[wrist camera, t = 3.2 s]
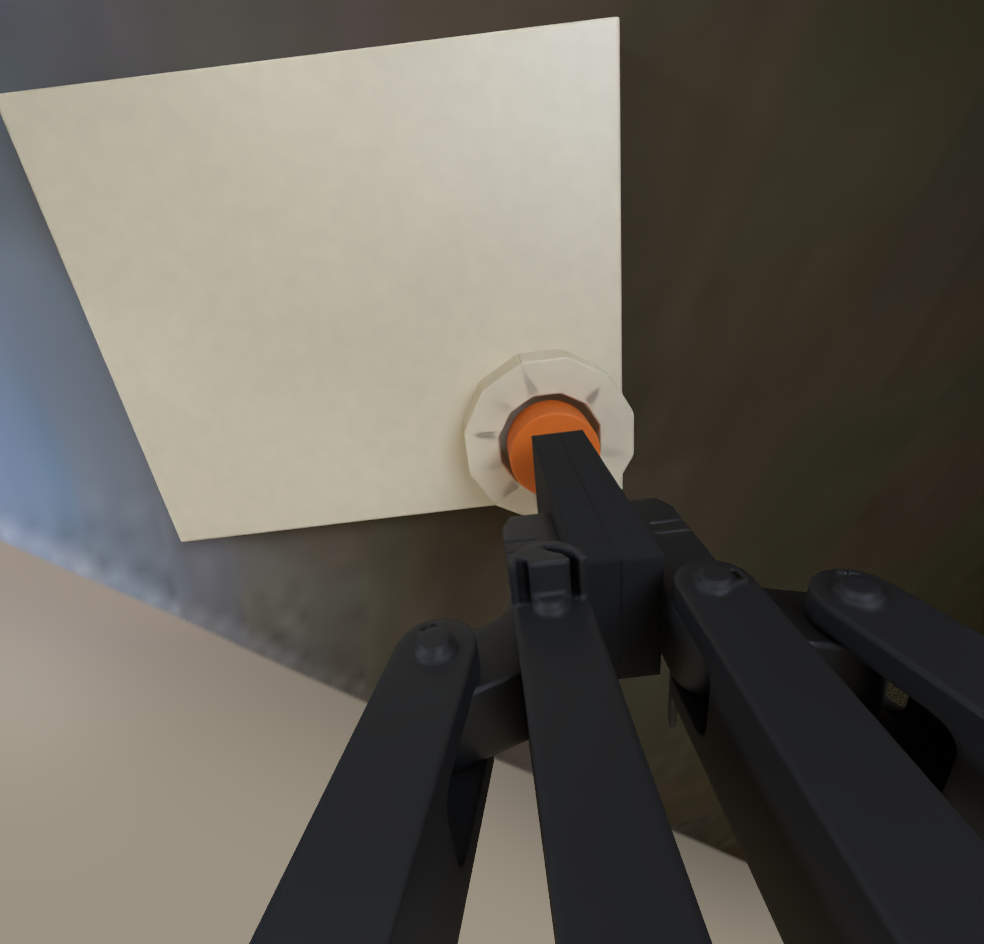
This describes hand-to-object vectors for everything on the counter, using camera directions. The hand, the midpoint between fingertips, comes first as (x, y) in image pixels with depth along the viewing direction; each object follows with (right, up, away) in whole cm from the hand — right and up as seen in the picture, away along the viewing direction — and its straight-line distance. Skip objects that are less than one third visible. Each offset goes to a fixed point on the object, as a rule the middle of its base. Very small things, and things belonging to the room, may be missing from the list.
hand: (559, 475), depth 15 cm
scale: (-7, +6, +4) cm, 9 cm away
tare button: (0, +1, +3) cm, 3 cm away
